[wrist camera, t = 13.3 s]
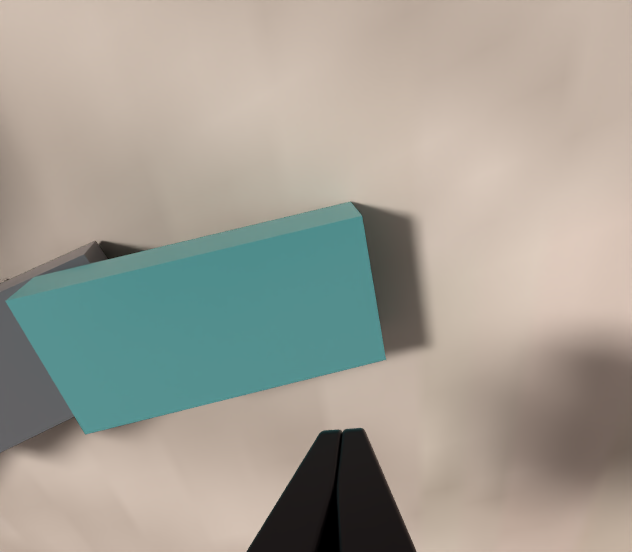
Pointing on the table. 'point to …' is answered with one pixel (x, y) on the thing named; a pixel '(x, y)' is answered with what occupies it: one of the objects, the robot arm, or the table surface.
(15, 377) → the domino
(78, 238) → the table surface
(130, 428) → the table surface
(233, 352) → the domino
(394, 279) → the table surface
